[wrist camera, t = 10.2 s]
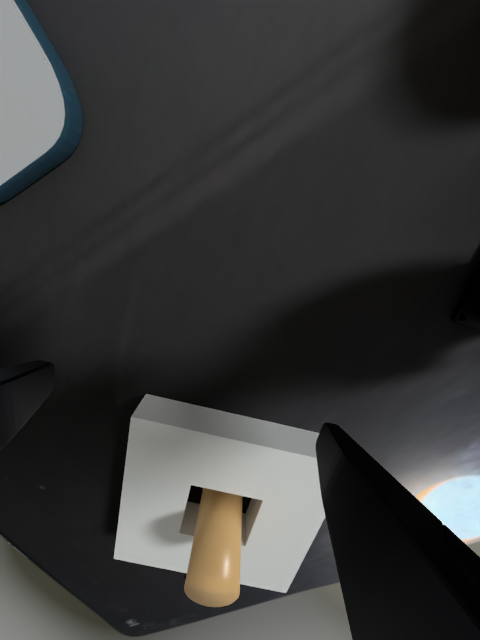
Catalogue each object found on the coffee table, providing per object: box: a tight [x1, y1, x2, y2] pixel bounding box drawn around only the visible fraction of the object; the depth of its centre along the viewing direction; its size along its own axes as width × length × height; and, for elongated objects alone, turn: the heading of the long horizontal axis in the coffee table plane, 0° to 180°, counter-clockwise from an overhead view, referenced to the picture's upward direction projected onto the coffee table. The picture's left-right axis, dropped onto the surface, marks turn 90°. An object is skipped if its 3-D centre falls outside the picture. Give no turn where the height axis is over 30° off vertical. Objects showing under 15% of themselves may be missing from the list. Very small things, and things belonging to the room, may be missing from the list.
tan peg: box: [184, 488, 243, 607], centre depth 22 cm, size 4×4×8 cm
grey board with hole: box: [114, 394, 325, 593], centre depth 25 cm, size 18×25×3 cm
